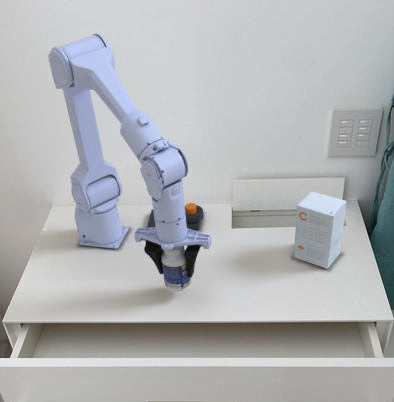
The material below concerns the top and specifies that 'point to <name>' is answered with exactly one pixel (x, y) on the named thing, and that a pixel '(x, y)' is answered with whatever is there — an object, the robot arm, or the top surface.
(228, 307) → the top surface
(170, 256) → the pill bottle
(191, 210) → the button
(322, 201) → the small box
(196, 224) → the scale
